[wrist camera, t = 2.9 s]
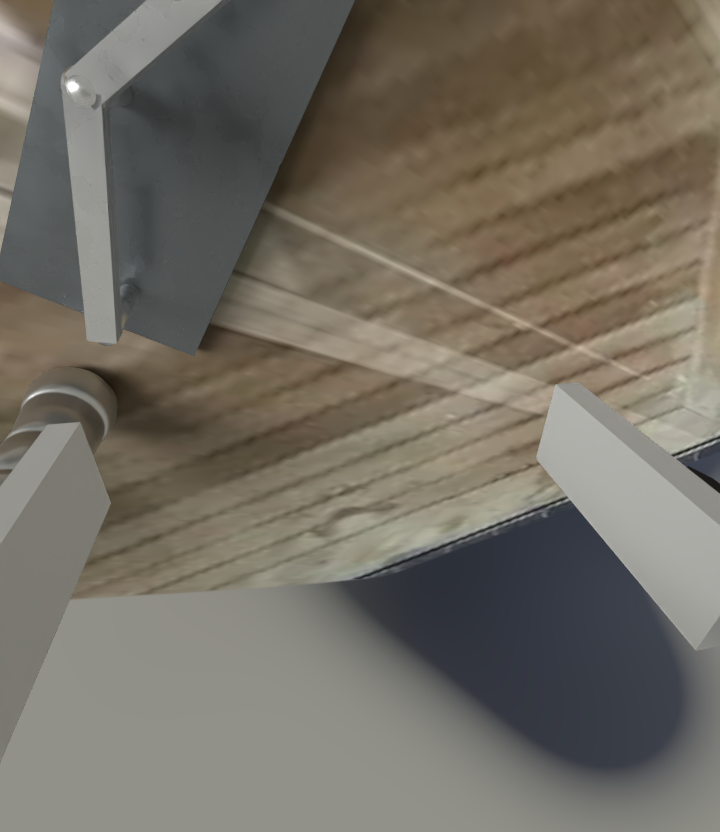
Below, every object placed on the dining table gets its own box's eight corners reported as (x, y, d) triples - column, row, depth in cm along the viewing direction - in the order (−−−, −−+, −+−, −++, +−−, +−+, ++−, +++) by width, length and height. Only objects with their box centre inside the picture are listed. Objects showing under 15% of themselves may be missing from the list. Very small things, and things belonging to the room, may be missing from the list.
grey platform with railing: (3, 272, 33) (-73, 329, 25) (238, -790, 16) (233, -1686, 8) (195, 348, 39) (183, 413, 31) (510, -353, 22) (662, -605, 14)
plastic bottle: (86, 344, 37) (-31, 533, 21) (139, 405, 41) (74, 602, 25) (17, 376, 37) (-150, 586, 21) (77, 433, 41) (-27, 645, 25)
